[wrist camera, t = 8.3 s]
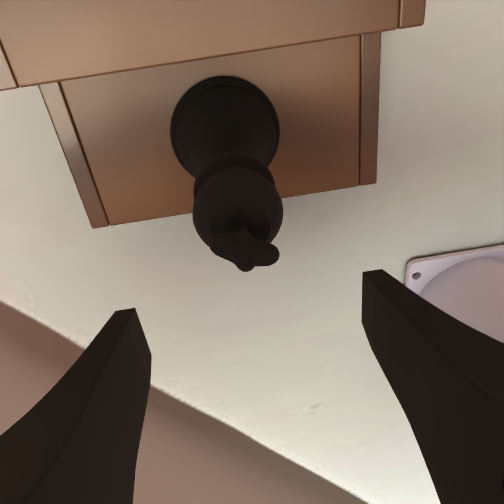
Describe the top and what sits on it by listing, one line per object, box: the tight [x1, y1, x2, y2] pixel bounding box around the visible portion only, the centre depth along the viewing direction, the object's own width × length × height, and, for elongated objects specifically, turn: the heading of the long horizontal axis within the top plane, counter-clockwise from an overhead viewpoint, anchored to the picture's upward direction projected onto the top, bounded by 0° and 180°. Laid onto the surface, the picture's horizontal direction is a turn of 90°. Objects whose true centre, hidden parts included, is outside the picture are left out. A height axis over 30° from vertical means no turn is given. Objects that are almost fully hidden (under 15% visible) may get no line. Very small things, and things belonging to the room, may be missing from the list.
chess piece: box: [170, 76, 283, 272], centre depth 13 cm, size 4×4×10 cm
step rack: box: [0, 0, 426, 228], centre depth 15 cm, size 12×13×6 cm
